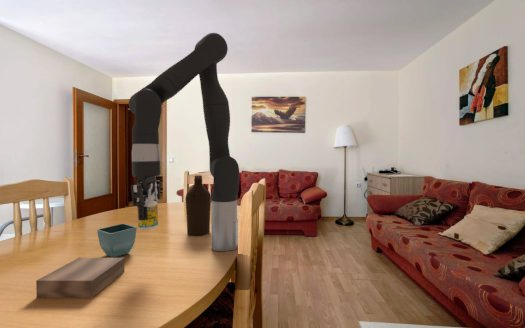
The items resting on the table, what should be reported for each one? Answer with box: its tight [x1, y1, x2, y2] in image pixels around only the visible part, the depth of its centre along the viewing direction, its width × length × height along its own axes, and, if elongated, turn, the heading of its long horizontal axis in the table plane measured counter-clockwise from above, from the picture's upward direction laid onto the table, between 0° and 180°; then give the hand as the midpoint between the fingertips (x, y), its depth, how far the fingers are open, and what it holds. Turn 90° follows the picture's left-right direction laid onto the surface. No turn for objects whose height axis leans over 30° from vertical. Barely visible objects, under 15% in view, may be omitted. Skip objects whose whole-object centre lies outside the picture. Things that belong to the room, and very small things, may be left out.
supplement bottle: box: [136, 194, 159, 231], centre depth 71 cm, size 5×5×10 cm
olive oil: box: [185, 174, 212, 237], centre depth 105 cm, size 11×11×25 cm
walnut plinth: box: [35, 257, 125, 299], centre depth 63 cm, size 13×13×4 cm
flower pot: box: [96, 223, 137, 258], centre depth 82 cm, size 9×9×9 cm
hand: (148, 217), depth 72 cm, fingers closed on supplement bottle, 5 cm apart
